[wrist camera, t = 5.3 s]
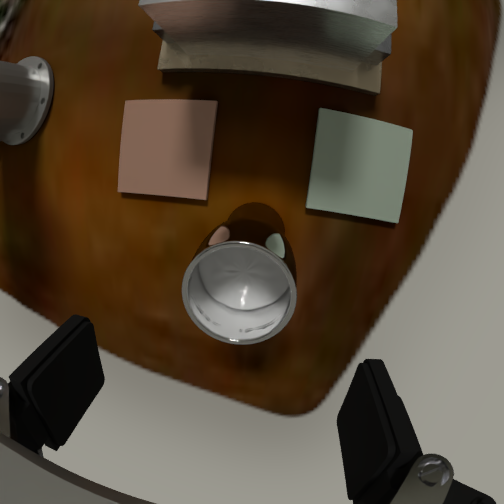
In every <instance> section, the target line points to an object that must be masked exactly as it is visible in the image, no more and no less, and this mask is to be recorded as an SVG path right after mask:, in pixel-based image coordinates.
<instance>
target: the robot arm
mask: <svg viewBox="0 0 504 504" xmlns="http://www.w3.org/2000/svg"><path fill="white" fill-rule="evenodd" d="M53 87H54V80H53V73H52V69H51V67H50V65H49V64H48V62H47V61H46V60H44V59H43V58H39V57H34V56H31V57H27V58H25V59H23V60H21V61H20V62H18V63H17V64H14V63H9V62H3V61H0V141H3V142H5V143H7V144H9V145H19V144H23V143H25V142H26V141H28V140H30V139H31V138H32V137H33V136H34V135H35V134H36V132H37V131H38V130H39V128H40V127H41V125H42V123H43V122H44V120H45V117H46V115H47V113H48V110H49V107H50V104H51V100H52V96H53ZM9 378H10V382H9V383H7V382H6V380H4V379H3V378H1V377H0V504H156V503H152V502H149V501H145V500H142V499H139V498H136V497H132V496H130V495H127V494H124V493H121V492H118V491H116V490H113V489H110V488H108V487H105V486H103V485H100V484H97V483H95V482H93V481H90V480H88V479H85V478H83V477H81V476H79V475H77V474H74V473H72V472H70V471H68V470H66V469H64V468H62V467H60V466H58V465H56V464H54V463H53V462H51V461H49V460H47V459H45V458H43V453H42V446H43V445H44V444H45V445H46V446H48V447H49V448H51V449H53V450H55V451H57V450H58V448H59V447H60V446H63V445H64V444H65V443H66V441H67V439H68V438H69V437H70V435H71V433H72V432H73V430H74V429H75V427H76V426H77V424H78V422H79V421H80V420H81V418H82V417H83V415H84V414H85V412H86V410H87V409H88V407H89V406H90V404H91V403H92V401H93V400H94V398H95V397H96V395H97V394H98V392H99V391H100V389H101V388H102V386H103V384H104V380H105V379H104V374H103V369H102V365H101V361H100V356H99V351H98V347H97V342H96V336H95V331H94V326H93V324H92V323H91V322H90V320H89V318H87V317H83V316H80V315H73V316H71V317H70V318H69V319H68V320H67V321H66V322H65V323H64V324H63V325H61V326H60V327H59V328H58V329H57V330H56V331H55V332H54V333H53V334H52V335H51V336H50V337H49V338H47V339H46V340H45V341H44V342H43V343H42V344H41V345H40V346H39V347H38V348H37V349H36V350H35V351H34V352H33V353H32V354H31V355H30V356H29V357H28V358H27V359H26V360H25V361H24V362H23V363H22V364H21V365H20V366H19V367H18V368H17V369H16V370H15V371H14V372H13V373H12V374H11V375H10V376H9ZM337 427H338V433H339V439H340V446H341V452H342V458H343V466H344V472H345V479H346V487H347V495H348V499H349V500H353V504H496V502H495V501H494V499H493V498H491V497H490V496H488V495H486V494H484V493H482V492H479V491H477V490H475V489H473V488H471V487H469V486H467V485H465V484H462V483H460V482H458V481H456V480H454V479H453V476H454V472H453V467H452V465H451V463H450V462H449V461H448V460H447V459H446V458H444V457H443V456H441V455H437V454H426V455H423V453H422V450H421V447H420V444H419V442H418V439H417V437H416V434H415V431H414V429H413V426H412V424H411V421H410V418H409V416H408V413H407V411H406V409H405V406H404V404H403V401H402V399H401V398H400V397H399V396H398V395H397V393H396V390H395V388H394V385H393V383H392V381H391V378H390V376H389V374H388V371H387V369H386V367H385V365H384V362H383V361H382V360H381V359H366V360H364V362H363V363H360V364H359V365H358V367H357V370H356V372H355V375H354V377H353V380H352V382H351V385H350V387H349V390H348V392H347V395H346V397H345V399H344V402H343V404H342V406H341V409H340V411H339V413H338V416H337Z"/></svg>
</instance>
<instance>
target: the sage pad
mask: <svg viewBox="0 0 504 504" xmlns="http://www.w3.org/2000/svg"><path fill="white" fill-rule="evenodd" d="M412 134H413V130H411V129H407V128H404V127H401V126H397V125H394V124H390V123H386V122H382V121H379V120H375V119H371V118H367V117H362V116H358V115H354V114H349V113H344V112H340V111H335V110H329V109H324V108H319V111H318V120H317V128H316V136H315V144H314V151H313V159H312V166H311V173H310V180H309V187H308V193H307V200H306V208H312V209H319V210H325V211H331V212H337V213H343V214H349V215H355V216H361V217H367V218H372V219H378V220H383V221H388V222H394V223H398V221H399V216H400V212H401V207H402V201H403V196H404V190H405V185H406V179H407V172H408V166H409V159H410V151H411V143H412Z"/></svg>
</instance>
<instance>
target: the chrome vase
mask: <svg viewBox="0 0 504 504" xmlns="http://www.w3.org/2000/svg"><path fill="white" fill-rule="evenodd" d="M296 285H297V272H296V262H295V258H294V254H293V251H292V248H291V245H290V243H289V241H288V240H287V238H286V237H285V227H284V223H283V220H282V218H281V217H280V215H279V214H278V213H277V212H276V211H275V210H274V209H273V208H272V207H270V206H268V205H266V204H263V203H257V202H252V203H246V204H243V205H241V206H239V207H238V208H236V209H235V210H234V211H233V212H232V213H231V214H230V216H229V218H228V220H227V221H225V222H223V223H221V224H220V225H218V226H217V227H216V228H215V229H213V230H212V231H211V232H210V233H209V234H208V235H207V237H206V238H205V239H204V240H203V242H202V243H201V245H200V246H199V248H198V249H197V251H196V253H195V255H194V257H193V259H192V261H191V263H190V264H189V266H188V267H187V269H186V271H185V274H184V277H183V282H182V298H183V302H184V306H185V308H186V310H187V312H188V314H189V316H190V318H191V319H192V320H193V322H194V323H195V324H196V325H197V326H198V327H199V328H200V329H201V330H202V331H204V332H205V333H206V334H208V335H210V336H211V337H213V338H215V339H217V340H220V341H223V342H226V343H231V344H239V345H245V344H254V343H258V342H262V341H264V340H267V339H269V338H271V337H273V336H274V335H276V334H277V333H278V332H280V331H281V330H282V329H283V328H284V327H285V326H286V324H287V323H288V322H289V320H290V319H291V317H292V315H293V312H294V309H295V306H296V300H297V291H296Z"/></svg>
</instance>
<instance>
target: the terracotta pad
mask: <svg viewBox="0 0 504 504" xmlns="http://www.w3.org/2000/svg"><path fill="white" fill-rule="evenodd" d="M217 108H218V102H217V101H209V100H130V101H125V109H124V117H123V126H122V136H121V147H120V160H119V177H118V192H127V193H140V194H151V195H162V196H173V197H183V198H192V199H202V200H207V199H208V189H209V179H210V169H211V159H212V150H213V141H214V133H215V124H216V116H217Z"/></svg>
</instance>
